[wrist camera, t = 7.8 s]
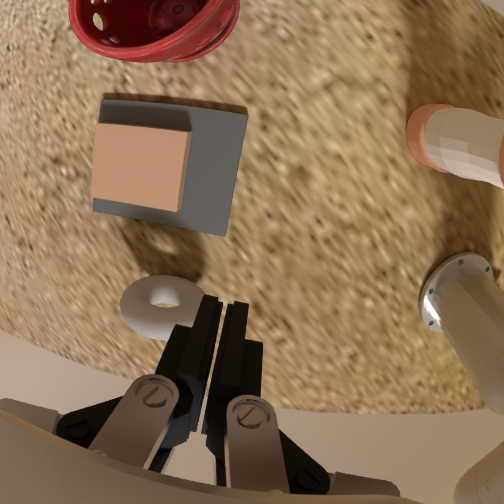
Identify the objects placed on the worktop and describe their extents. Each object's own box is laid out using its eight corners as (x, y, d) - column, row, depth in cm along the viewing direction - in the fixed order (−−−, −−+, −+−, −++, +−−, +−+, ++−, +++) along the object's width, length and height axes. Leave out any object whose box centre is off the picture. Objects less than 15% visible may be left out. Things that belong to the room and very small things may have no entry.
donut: (217, 277, 37) (202, 330, 28) (214, 301, 39) (200, 356, 29) (138, 262, 37) (103, 308, 28) (138, 286, 38) (107, 335, 29)
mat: (248, 115, 29) (247, 115, 29) (225, 233, 35) (225, 236, 34) (105, 99, 29) (101, 99, 28) (96, 209, 34) (93, 211, 33)
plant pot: (137, -27, 22) (88, -69, 11) (255, -28, 22) (248, -87, 11) (116, 74, 28) (50, 64, 17) (235, 79, 28) (217, 58, 17)
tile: (187, 132, 27) (96, 123, 27) (176, 212, 31) (91, 197, 30) (192, 131, 29) (105, 122, 29) (181, 205, 33) (100, 191, 32)
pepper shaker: (394, 120, 28) (518, 141, 11) (442, 94, 26) (573, 101, 9) (422, 178, 31) (538, 248, 13) (466, 150, 29) (589, 199, 11)
